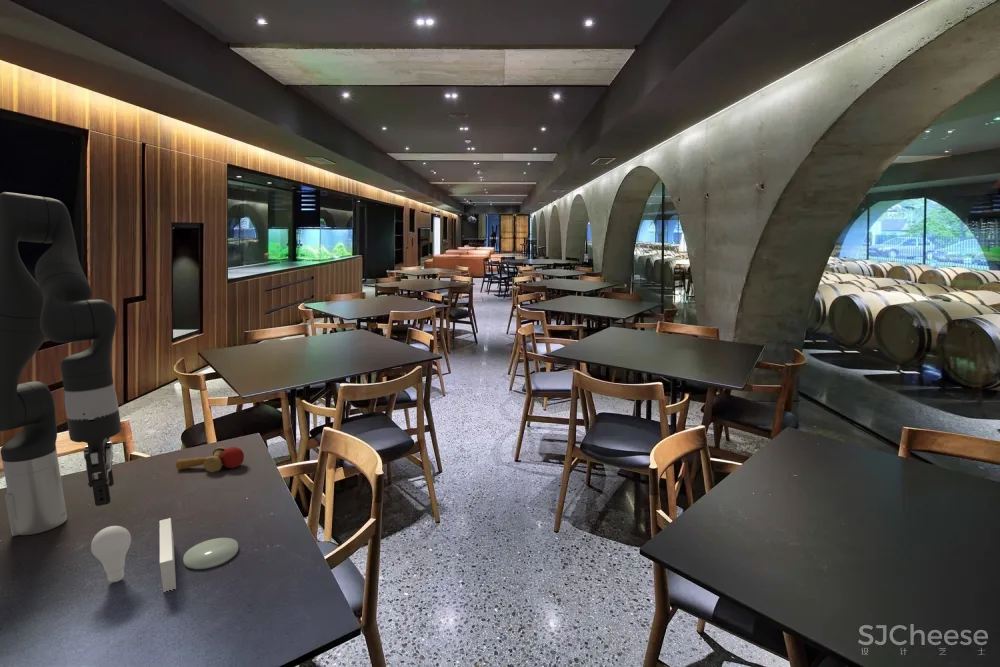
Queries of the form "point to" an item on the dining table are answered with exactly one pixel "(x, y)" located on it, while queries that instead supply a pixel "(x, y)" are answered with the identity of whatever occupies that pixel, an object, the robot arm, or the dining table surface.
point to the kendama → (215, 459)
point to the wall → (167, 555)
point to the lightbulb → (112, 550)
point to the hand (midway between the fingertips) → (105, 495)
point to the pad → (210, 553)
